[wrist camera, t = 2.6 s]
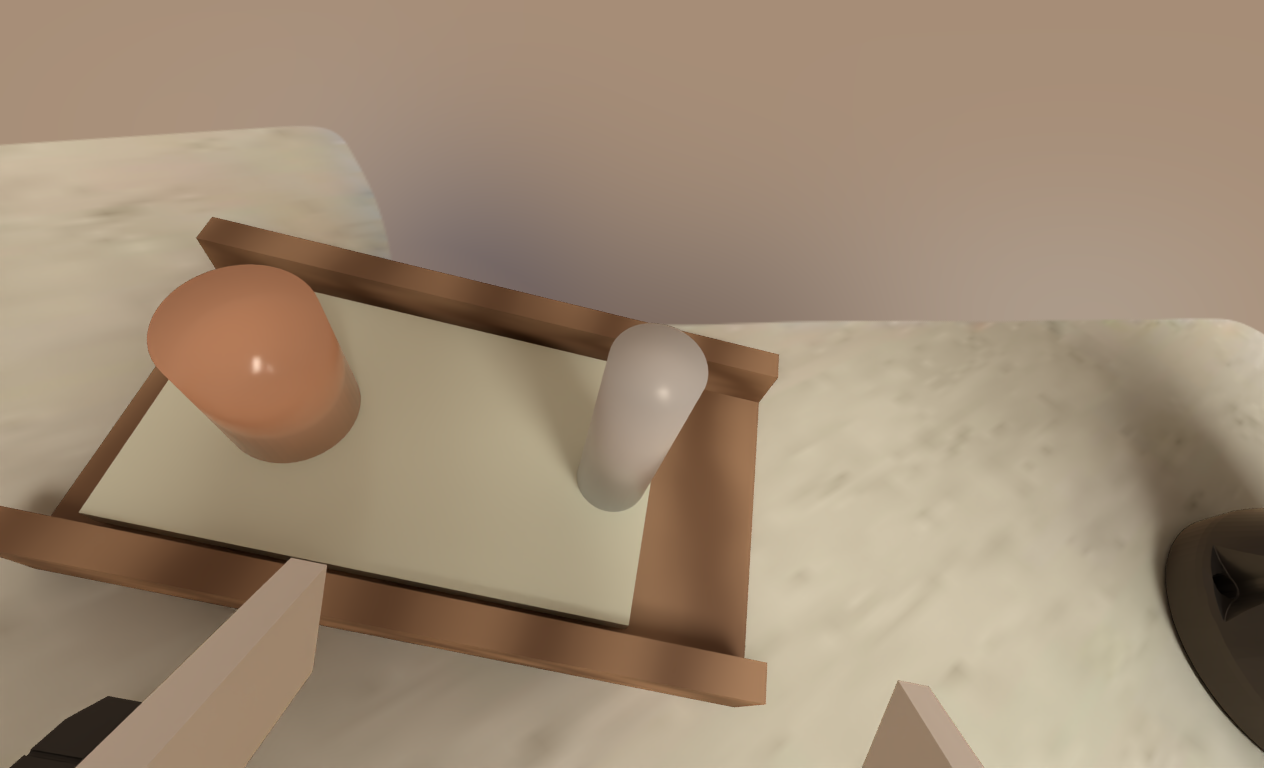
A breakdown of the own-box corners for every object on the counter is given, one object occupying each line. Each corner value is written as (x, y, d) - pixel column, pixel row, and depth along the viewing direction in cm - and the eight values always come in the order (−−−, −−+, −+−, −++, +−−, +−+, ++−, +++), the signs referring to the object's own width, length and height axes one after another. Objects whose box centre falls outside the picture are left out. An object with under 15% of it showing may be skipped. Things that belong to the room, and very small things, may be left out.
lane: (754, 388, 38) (778, 354, 34) (734, 707, 28) (765, 704, 25) (240, 266, 35) (212, 216, 32) (33, 568, 26) (-38, 543, 23)
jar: (371, 441, 29) (334, 368, 23) (232, 480, 27) (151, 411, 21) (348, 342, 31) (309, 252, 25) (219, 370, 29) (142, 280, 23)
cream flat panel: (662, 385, 35) (728, 240, 25) (624, 629, 28) (693, 570, 17) (248, 288, 33) (130, 88, 23) (95, 520, 26) (-177, 384, 16)
